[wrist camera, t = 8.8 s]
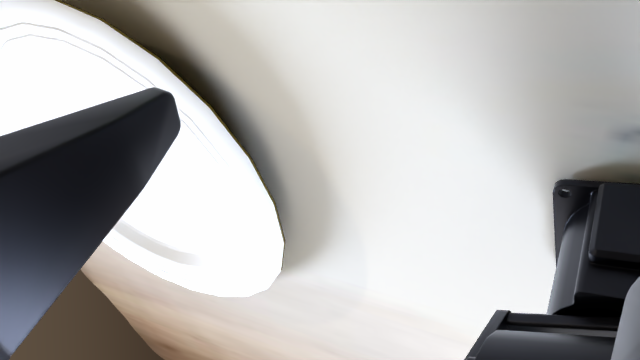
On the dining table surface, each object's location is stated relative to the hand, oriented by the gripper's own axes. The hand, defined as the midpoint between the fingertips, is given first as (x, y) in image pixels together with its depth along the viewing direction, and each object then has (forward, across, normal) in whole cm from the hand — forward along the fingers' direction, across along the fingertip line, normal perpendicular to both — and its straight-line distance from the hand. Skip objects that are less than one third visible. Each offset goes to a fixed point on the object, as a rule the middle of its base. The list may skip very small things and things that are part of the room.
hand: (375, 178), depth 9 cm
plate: (+13, +24, +22) cm, 35 cm away
